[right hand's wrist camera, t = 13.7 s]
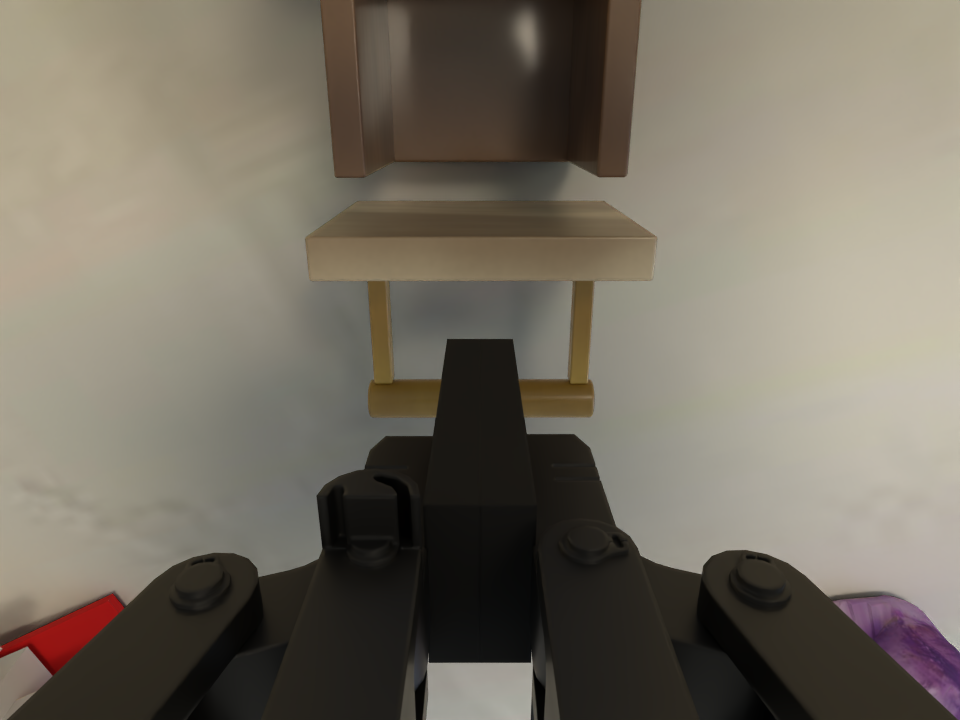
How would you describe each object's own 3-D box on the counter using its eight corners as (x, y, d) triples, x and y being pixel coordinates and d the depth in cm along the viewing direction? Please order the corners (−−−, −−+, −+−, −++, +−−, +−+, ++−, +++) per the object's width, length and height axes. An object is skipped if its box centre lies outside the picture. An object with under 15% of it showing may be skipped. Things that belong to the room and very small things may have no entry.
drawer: (593, 364, 25) (635, 456, 19) (368, 365, 25) (327, 456, 19) (646, -386, 17) (756, -716, 10) (314, -385, 17) (205, -716, 10)
